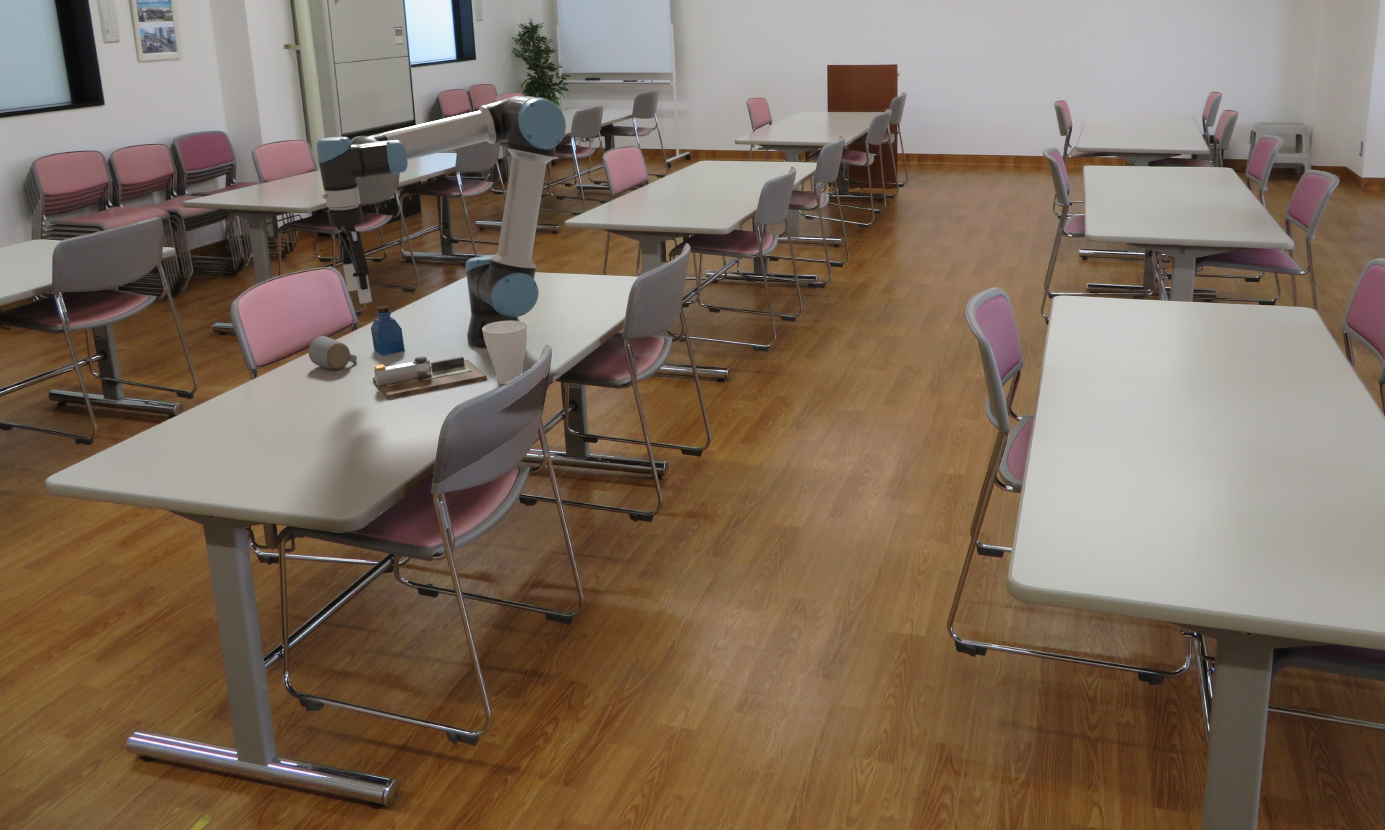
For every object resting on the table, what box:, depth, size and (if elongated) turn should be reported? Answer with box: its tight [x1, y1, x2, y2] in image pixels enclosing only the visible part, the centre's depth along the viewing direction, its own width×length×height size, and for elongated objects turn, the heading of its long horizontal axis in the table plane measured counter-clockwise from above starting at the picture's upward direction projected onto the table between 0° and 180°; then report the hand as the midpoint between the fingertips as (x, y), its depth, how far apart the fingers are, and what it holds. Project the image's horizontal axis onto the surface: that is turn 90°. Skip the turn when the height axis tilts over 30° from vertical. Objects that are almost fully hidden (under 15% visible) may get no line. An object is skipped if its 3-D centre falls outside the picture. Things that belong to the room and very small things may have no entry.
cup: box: [482, 320, 528, 385], centre depth 254 cm, size 10×10×14 cm
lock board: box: [372, 356, 488, 400], centre depth 257 cm, size 24×15×6 cm, turn 118°
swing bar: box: [373, 359, 431, 387], centre depth 255 cm, size 13×4×4 cm, turn 118°
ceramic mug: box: [308, 335, 358, 371], centre depth 271 cm, size 11×8×8 cm
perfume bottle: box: [370, 305, 406, 356], centre depth 280 cm, size 6×6×12 cm
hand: (359, 296), depth 252 cm, fingers open, 13 cm apart
